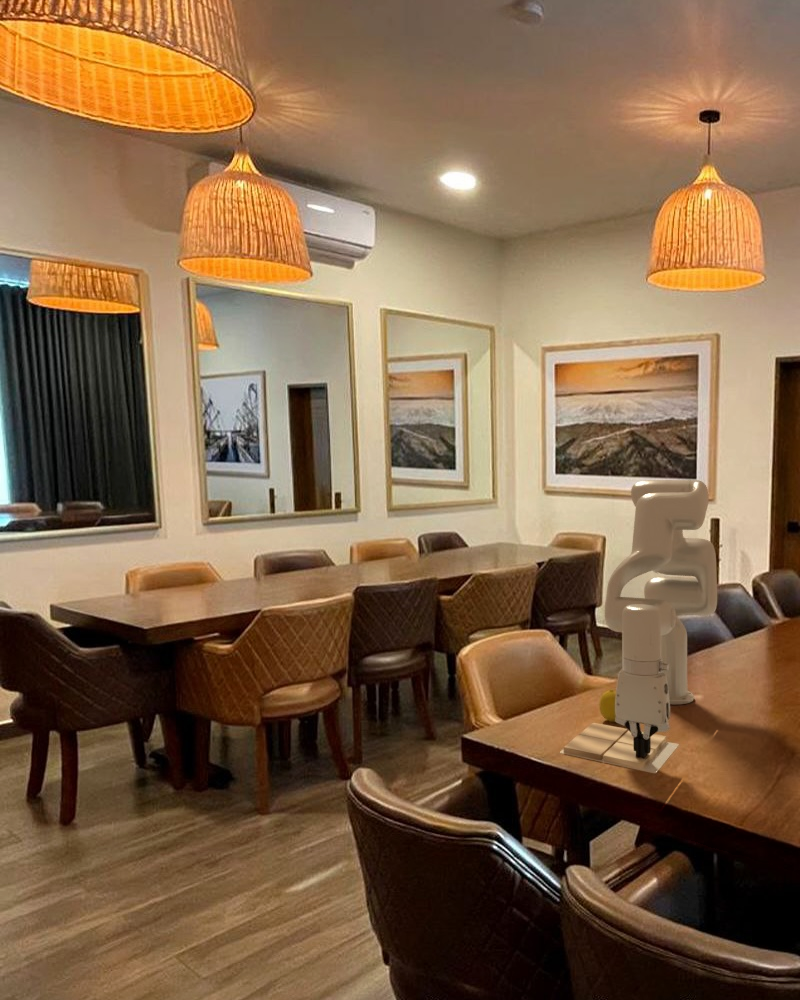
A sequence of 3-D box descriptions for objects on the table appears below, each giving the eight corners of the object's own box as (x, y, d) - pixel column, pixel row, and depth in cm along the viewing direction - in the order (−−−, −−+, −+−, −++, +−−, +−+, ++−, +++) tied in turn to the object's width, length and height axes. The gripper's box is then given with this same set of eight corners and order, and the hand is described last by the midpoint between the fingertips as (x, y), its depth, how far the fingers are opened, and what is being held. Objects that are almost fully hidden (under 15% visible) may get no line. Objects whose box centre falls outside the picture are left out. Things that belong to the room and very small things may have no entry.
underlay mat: (589, 728, 169) (589, 727, 169) (679, 746, 158) (679, 744, 158) (559, 754, 154) (559, 752, 154) (655, 775, 143) (655, 773, 143)
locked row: (592, 727, 169) (592, 722, 169) (627, 734, 164) (627, 728, 164) (563, 752, 154) (563, 746, 154) (600, 760, 150) (600, 754, 150)
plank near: (616, 747, 156) (616, 742, 156) (654, 755, 152) (654, 749, 152) (603, 761, 149) (602, 755, 149) (642, 769, 145) (642, 763, 145)
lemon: (607, 728, 169) (607, 694, 169) (595, 720, 175) (594, 687, 174) (628, 725, 171) (628, 691, 171) (615, 717, 176) (615, 685, 176)
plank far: (629, 734, 164) (629, 729, 164) (666, 741, 159) (666, 736, 159) (617, 746, 157) (617, 741, 157) (655, 754, 152) (655, 748, 152)
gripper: (684, 667, 147) (685, 757, 148) (611, 657, 156) (611, 742, 156) (675, 675, 141) (675, 769, 141) (599, 665, 149) (599, 754, 150)
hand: (642, 755), depth 149 cm, fingers closed
